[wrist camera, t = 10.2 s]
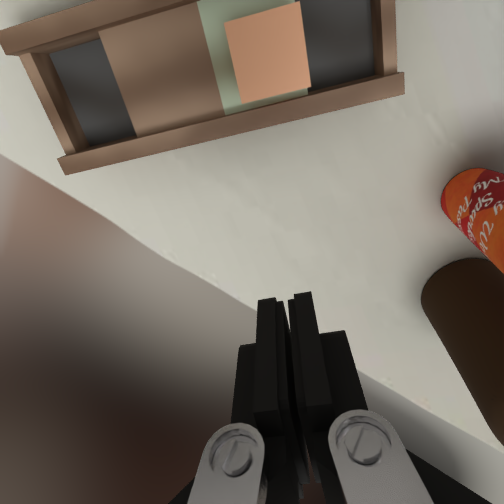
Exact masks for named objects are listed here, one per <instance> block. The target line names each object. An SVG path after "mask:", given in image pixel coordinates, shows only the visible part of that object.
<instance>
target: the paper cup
mask: <svg viewBox="0 0 504 504" xmlns="http://www.w3.org/2000/svg"><path fill="white" fill-rule="evenodd" d="M441 206H442V209H443V211H444V213H445V214H446V215H447V217H448V218H449V219H450V220H451V221H452V222H453V223H454V224H455V225H456V226H457V227H458V228H459V229H460V230H461V231H462V233H463V234H464V235H465V236H466V237H467V238H468V239H469V240H470V241H471V242H472V243H473V244H474V245H475V246H476V247H477V248H478V249H479V250H480V251H481V252H482V253H483V254H484V255H485V256H486V257H487V258H488V259H489V260H490V261H491V262H492V263H493V264H494V265H495V266H496V267H497V268H498V269H499V270H500V271H501V272H502V273H503V274H504V174H502V173H499V172H495V171H492V170H488V169H483V168H473V169H469V170H466V171H463V172H461V173H459V174H458V175H456V176H455V177H454V178H453V179H451V180H450V182H449V183H448V184H447V185H446V187H445V189H444V191H443V193H442V197H441Z"/></svg>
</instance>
